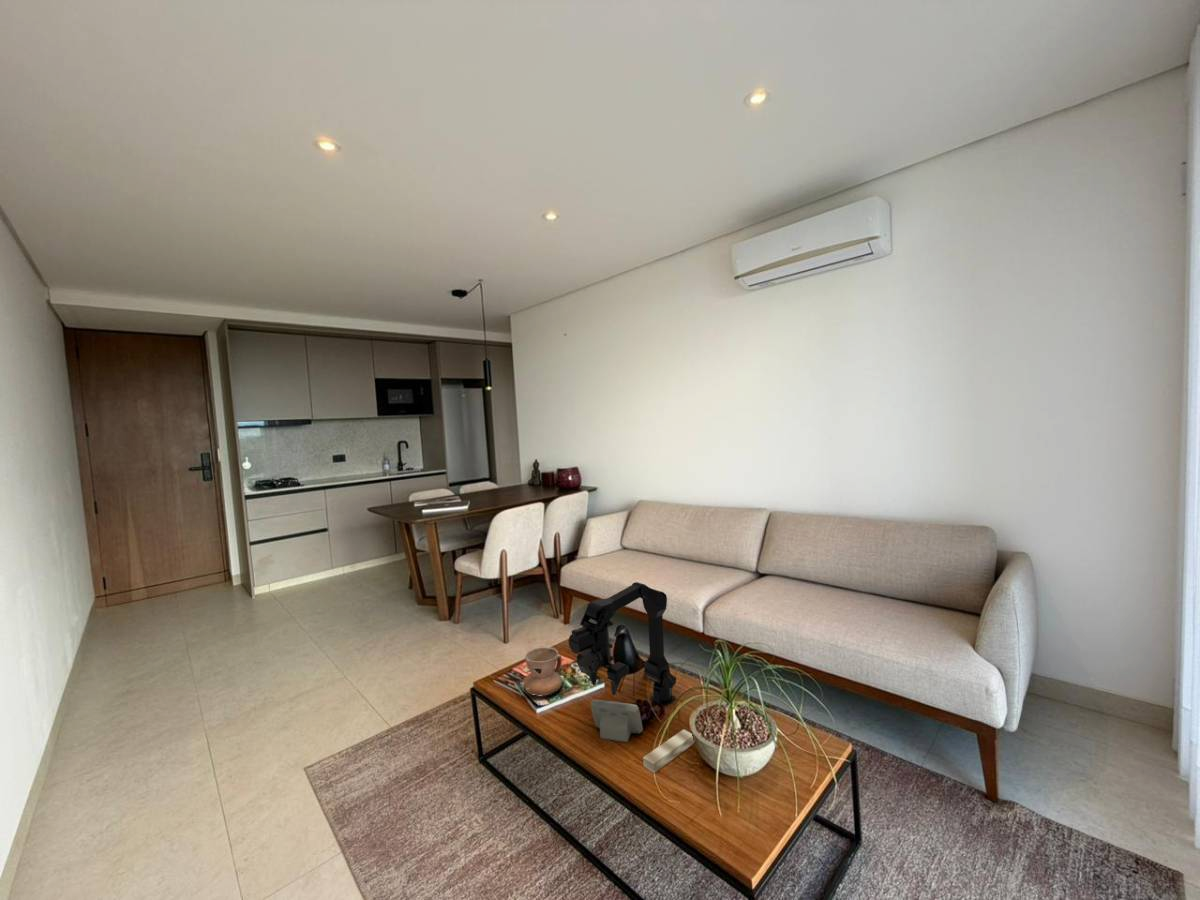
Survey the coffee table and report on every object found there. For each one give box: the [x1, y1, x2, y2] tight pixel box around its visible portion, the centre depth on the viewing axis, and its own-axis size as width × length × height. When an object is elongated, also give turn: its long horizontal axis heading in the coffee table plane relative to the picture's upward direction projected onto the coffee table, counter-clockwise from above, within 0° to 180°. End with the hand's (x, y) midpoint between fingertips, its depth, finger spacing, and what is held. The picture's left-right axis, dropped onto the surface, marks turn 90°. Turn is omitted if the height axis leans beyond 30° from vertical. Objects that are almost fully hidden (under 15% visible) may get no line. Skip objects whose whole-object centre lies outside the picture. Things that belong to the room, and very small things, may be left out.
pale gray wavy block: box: [642, 729, 695, 774], centre depth 145 cm, size 18×4×3 cm, turn 131°
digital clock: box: [590, 699, 644, 743], centre depth 157 cm, size 16×9×11 cm, turn 60°
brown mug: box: [522, 646, 563, 695], centre depth 185 cm, size 18×14×14 cm
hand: (604, 689), depth 157 cm, fingers open, 9 cm apart
